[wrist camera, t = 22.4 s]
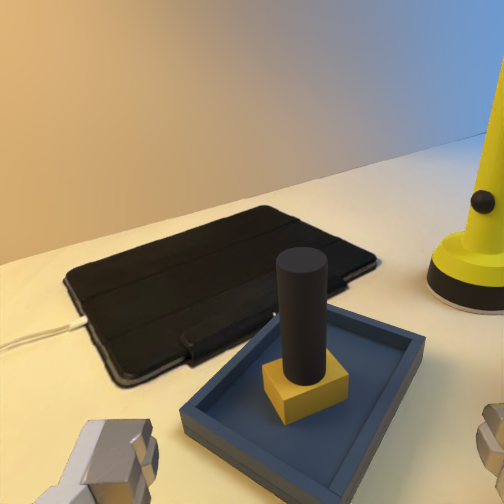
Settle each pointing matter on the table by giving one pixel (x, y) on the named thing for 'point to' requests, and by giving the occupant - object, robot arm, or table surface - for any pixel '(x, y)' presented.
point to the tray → (313, 426)
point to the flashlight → (477, 233)
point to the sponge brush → (303, 340)
